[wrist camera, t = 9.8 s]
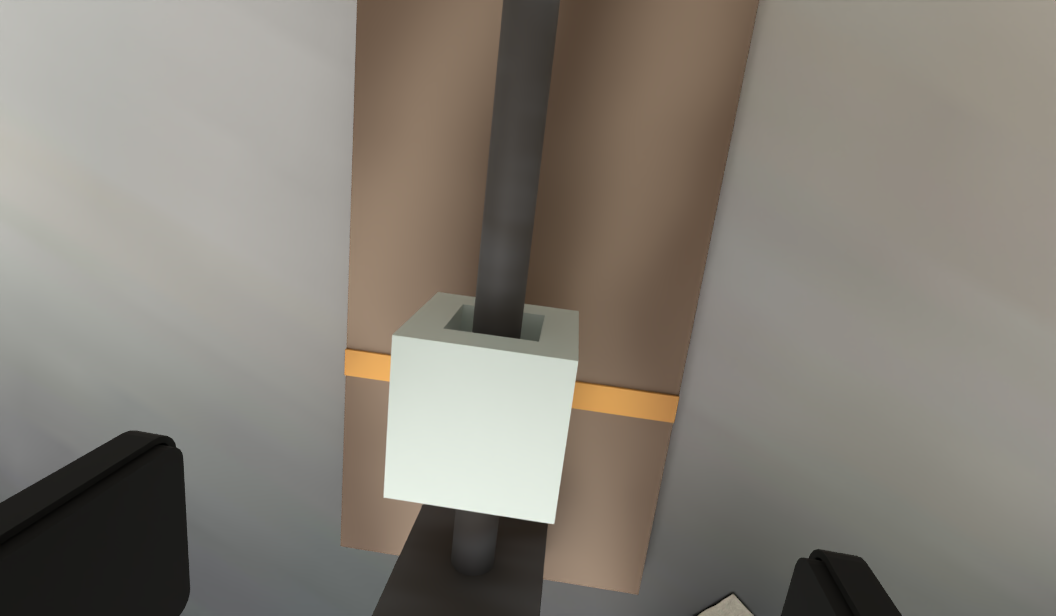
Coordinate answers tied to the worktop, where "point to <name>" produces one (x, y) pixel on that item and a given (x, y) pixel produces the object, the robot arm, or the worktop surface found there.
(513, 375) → the sleeve
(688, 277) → the rod slider rig
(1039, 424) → the worktop surface
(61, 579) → the robot arm
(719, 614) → the condiment
